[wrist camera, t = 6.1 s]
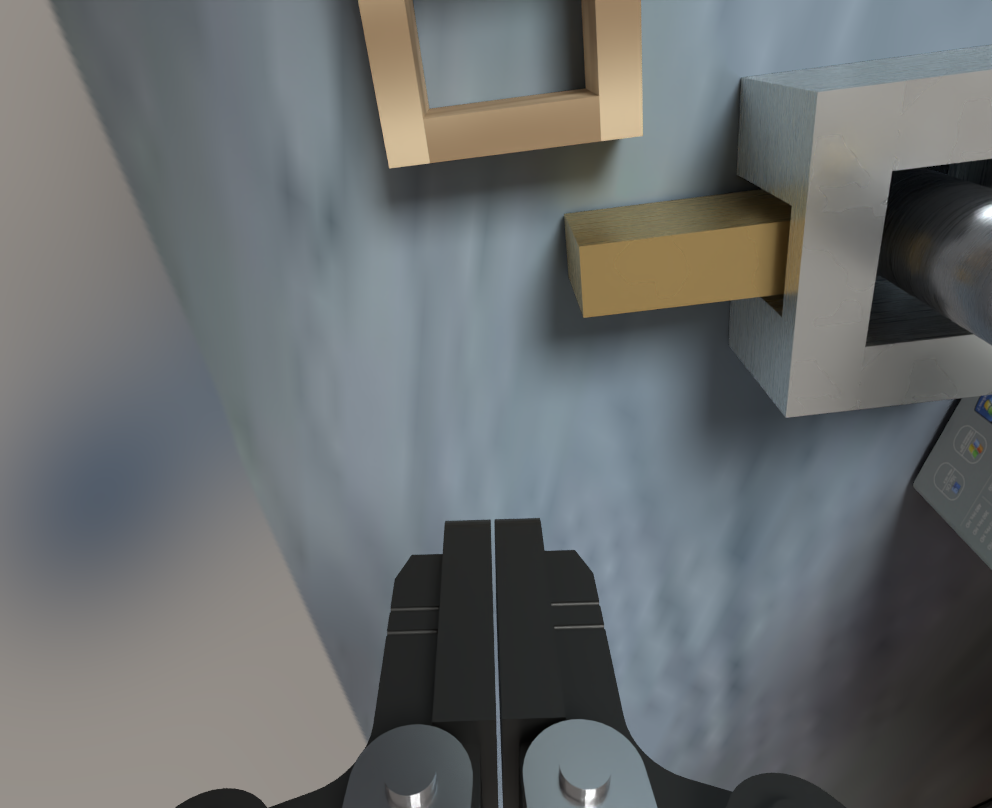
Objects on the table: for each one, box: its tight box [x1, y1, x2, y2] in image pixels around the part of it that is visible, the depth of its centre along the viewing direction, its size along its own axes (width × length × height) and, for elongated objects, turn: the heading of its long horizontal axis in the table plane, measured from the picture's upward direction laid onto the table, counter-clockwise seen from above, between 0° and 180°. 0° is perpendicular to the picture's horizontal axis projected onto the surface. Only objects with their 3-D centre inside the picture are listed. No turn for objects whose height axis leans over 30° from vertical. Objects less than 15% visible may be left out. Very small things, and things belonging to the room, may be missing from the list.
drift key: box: [564, 189, 792, 318], centre depth 24 cm, size 2×9×4 cm, turn 97°
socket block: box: [728, 45, 992, 418], centre depth 23 cm, size 10×10×6 cm
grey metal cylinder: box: [876, 167, 992, 345], centre depth 20 cm, size 4×4×14 cm
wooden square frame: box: [358, 0, 643, 168], centre depth 21 cm, size 8×8×3 cm
